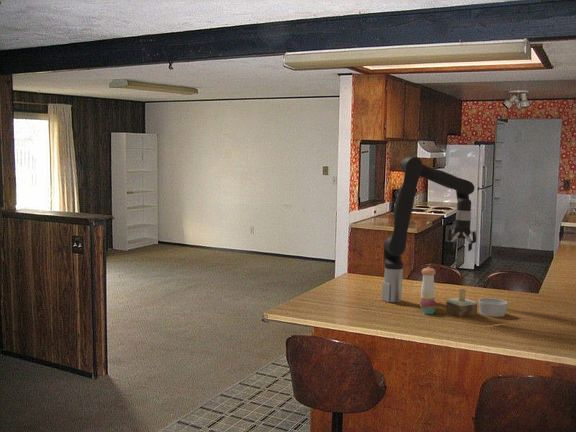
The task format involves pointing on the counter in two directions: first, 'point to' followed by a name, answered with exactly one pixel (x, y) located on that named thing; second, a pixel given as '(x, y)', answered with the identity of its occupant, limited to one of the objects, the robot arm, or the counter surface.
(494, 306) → the ramekin
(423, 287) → the pepper shaker
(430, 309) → the cupcake
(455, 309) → the walnut box
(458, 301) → the lid
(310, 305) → the counter surface
